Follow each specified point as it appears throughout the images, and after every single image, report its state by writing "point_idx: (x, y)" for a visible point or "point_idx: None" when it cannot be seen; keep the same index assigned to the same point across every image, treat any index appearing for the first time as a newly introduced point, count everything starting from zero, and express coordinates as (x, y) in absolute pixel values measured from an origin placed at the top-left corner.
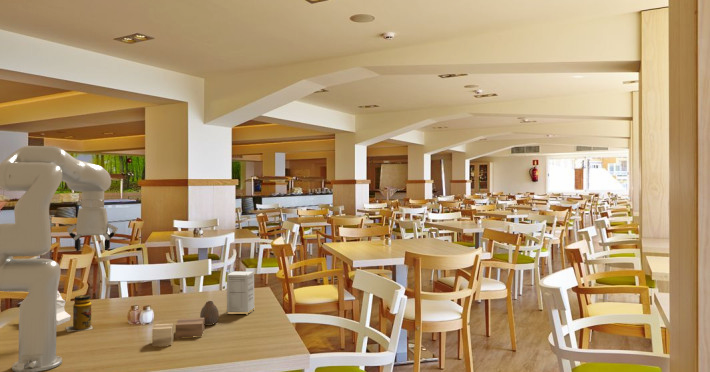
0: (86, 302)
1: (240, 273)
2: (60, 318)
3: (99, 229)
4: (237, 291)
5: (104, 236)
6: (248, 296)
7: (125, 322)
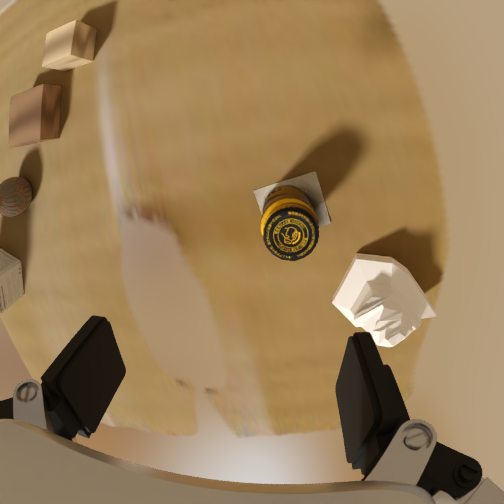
0: (272, 211)
1: None
2: (353, 273)
3: (4, 490)
4: None
5: (41, 419)
6: None
7: (184, 242)
